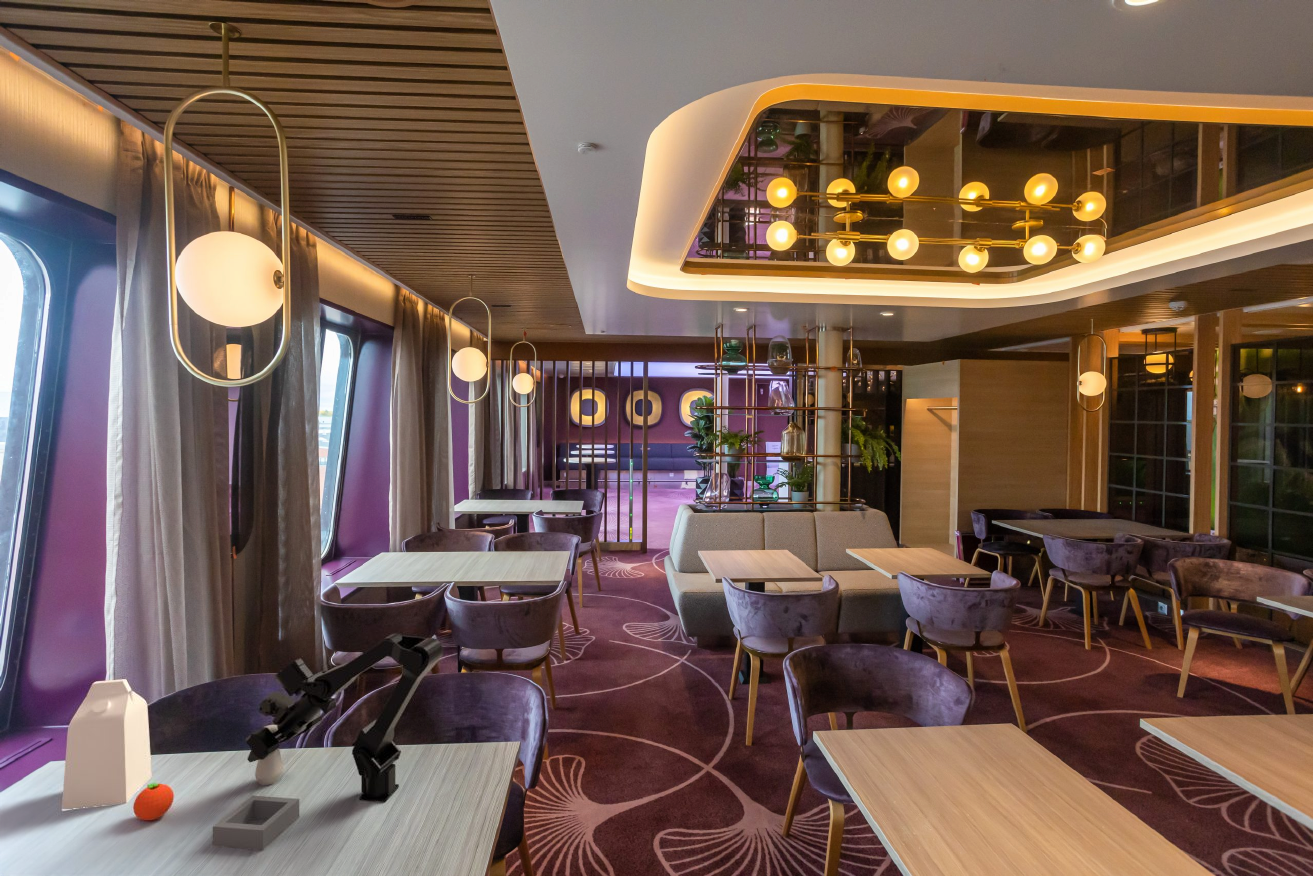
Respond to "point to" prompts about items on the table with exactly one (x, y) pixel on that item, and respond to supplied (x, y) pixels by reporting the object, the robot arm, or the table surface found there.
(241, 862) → the table surface
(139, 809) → the clementine
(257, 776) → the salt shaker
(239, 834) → the well block
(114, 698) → the milk
